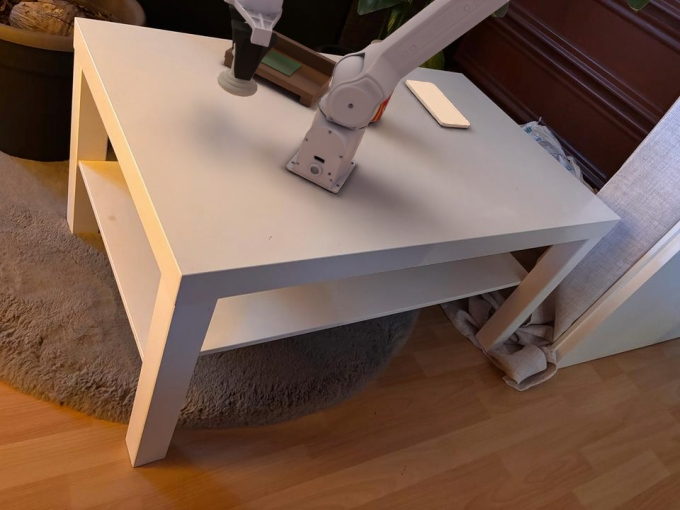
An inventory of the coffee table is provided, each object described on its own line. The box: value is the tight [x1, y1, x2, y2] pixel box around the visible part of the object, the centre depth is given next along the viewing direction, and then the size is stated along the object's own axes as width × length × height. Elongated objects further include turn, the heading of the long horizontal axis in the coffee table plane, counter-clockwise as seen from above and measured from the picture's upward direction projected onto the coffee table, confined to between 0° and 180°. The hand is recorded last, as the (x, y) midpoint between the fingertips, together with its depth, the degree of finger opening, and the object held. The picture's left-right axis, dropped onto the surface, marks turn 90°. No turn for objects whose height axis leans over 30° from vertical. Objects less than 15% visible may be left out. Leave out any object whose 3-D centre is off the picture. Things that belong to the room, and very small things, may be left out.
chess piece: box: [217, 22, 258, 98], centre depth 72 cm, size 5×5×9 cm
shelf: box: [223, 29, 338, 108], centre depth 94 cm, size 10×16×5 cm, turn 71°
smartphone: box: [405, 79, 471, 129], centre depth 109 cm, size 7×1×15 cm
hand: (241, 70), depth 73 cm, fingers closed on chess piece, 3 cm apart
